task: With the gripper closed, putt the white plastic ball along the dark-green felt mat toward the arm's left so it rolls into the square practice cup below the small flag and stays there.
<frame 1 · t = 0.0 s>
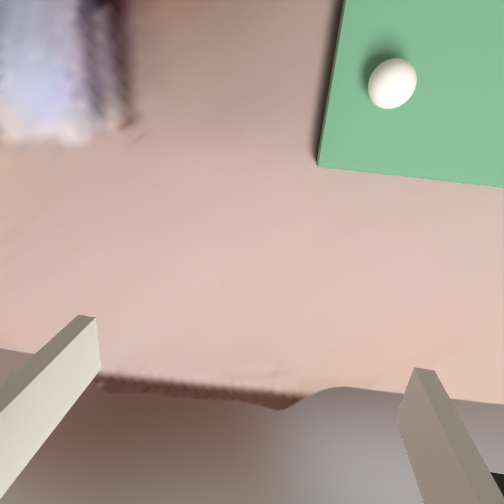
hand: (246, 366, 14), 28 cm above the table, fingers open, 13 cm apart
putting mat: (469, 97, 33), on the table
ball: (391, 84, 29), point 5 cm above the table, touching putting mat
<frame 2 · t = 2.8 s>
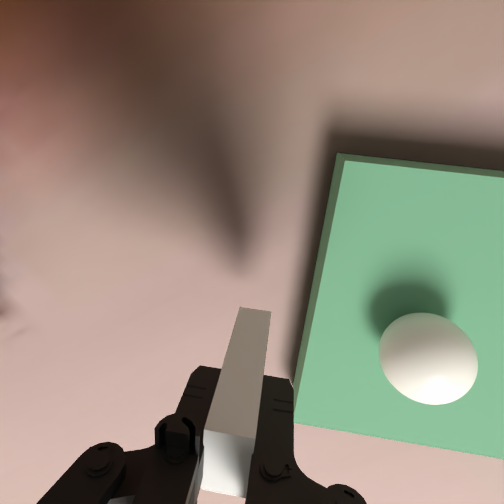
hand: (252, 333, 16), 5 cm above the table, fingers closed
ball: (425, 356, 15), point 5 cm above the table, touching putting mat
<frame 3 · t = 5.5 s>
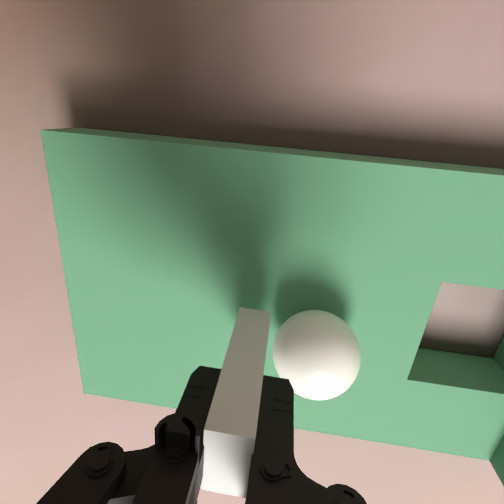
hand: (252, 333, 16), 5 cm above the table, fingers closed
putting mat: (318, 291, 19), on the table
ball: (315, 353, 15), point 5 cm above the table, tilted 115°, touching putting mat
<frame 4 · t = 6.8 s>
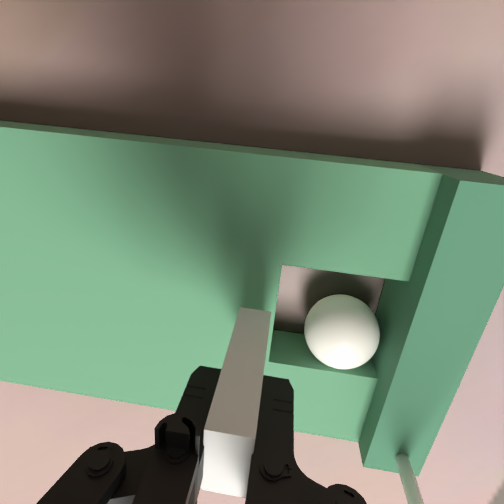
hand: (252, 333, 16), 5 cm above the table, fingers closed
putting mat: (196, 277, 20), on the table
ball: (340, 330, 18), point 2 cm above the table, tilted 175°
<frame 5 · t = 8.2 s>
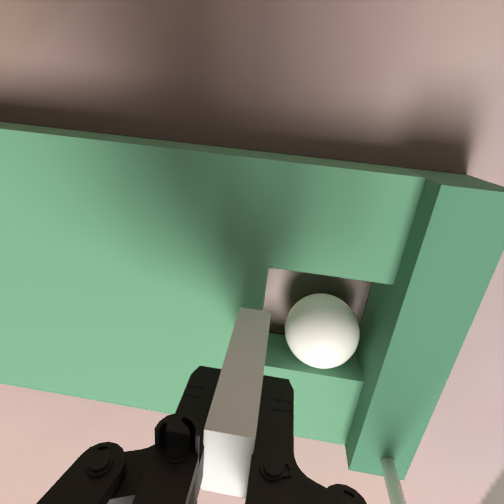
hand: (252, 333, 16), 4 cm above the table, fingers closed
putting mat: (184, 278, 20), on the table
ball: (321, 330, 18), point 2 cm above the table, tilted 164°
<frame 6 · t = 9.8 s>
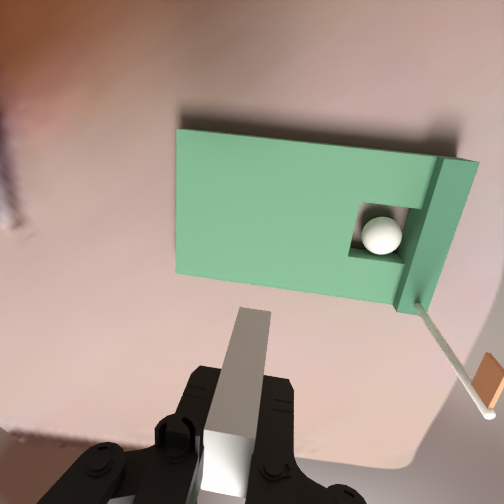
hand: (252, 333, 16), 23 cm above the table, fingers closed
putting mat: (304, 216, 37), on the table
ball: (381, 235, 35), point 2 cm above the table, tilted 155°
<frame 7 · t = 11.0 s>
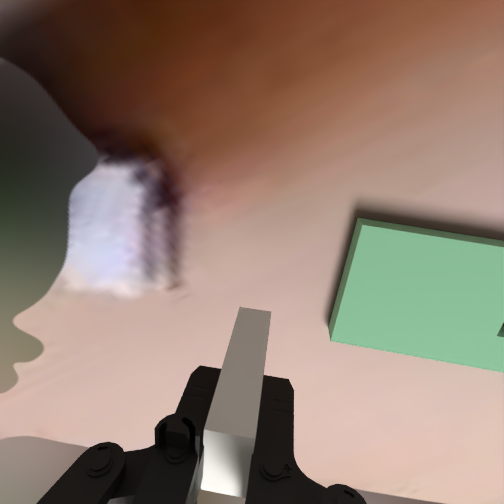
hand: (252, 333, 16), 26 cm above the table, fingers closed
putting mat: (452, 295, 41), on the table
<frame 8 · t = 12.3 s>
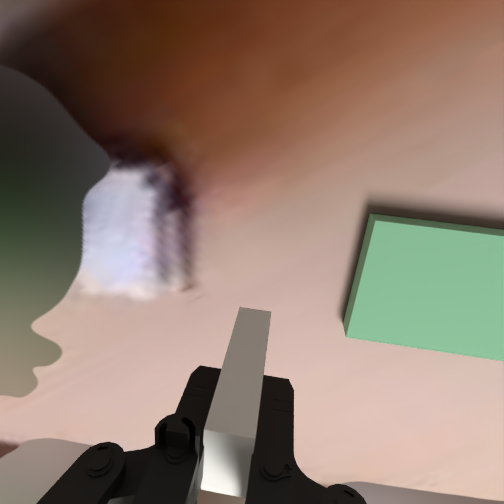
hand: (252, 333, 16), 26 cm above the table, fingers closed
putting mat: (467, 288, 41), on the table
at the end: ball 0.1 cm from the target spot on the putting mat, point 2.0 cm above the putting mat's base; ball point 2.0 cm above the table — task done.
